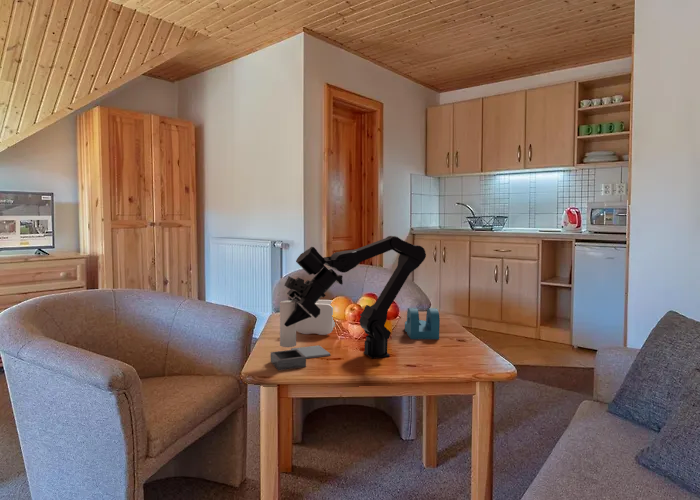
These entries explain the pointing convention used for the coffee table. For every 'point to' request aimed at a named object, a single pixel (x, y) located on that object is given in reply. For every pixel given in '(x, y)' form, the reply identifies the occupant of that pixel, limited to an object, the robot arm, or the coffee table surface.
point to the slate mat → (313, 351)
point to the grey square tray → (288, 359)
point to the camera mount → (422, 324)
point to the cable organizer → (318, 320)
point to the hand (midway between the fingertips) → (283, 323)
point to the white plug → (288, 332)
